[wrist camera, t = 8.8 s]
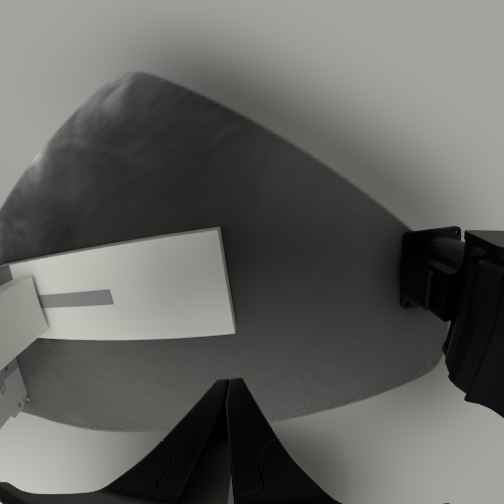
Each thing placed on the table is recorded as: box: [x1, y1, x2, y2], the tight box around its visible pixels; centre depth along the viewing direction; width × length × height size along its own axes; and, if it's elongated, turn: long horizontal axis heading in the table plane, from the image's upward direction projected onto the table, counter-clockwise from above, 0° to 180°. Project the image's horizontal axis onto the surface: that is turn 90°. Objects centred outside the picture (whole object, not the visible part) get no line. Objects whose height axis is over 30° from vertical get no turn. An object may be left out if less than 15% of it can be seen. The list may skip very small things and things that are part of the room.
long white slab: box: [0, 227, 236, 340], centre depth 17 cm, size 24×8×6 cm, turn 97°
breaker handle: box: [0, 277, 48, 371], centre depth 14 cm, size 3×5×9 cm, turn 7°
